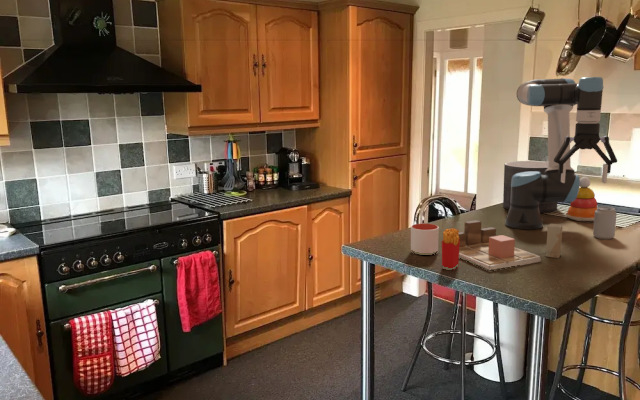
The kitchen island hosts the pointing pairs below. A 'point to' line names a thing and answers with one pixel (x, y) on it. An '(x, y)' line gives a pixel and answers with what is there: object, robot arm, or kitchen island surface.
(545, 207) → the planter
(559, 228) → the box
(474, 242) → the brown upright blocks
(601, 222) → the can
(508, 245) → the cube
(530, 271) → the kitchen island surface
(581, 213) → the stacking toy
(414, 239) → the cup
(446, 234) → the french fries
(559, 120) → the robot arm
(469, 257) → the lane board
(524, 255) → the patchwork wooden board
